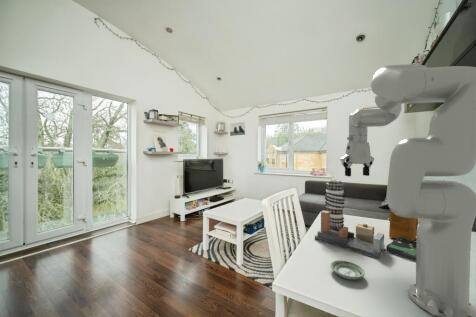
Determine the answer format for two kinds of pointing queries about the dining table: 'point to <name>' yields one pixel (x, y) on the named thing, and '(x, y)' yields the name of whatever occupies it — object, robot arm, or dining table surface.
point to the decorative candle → (335, 203)
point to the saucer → (347, 269)
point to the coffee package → (402, 227)
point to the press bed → (355, 243)
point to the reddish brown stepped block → (326, 226)
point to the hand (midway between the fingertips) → (357, 175)
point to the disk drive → (403, 248)
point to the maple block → (365, 232)
